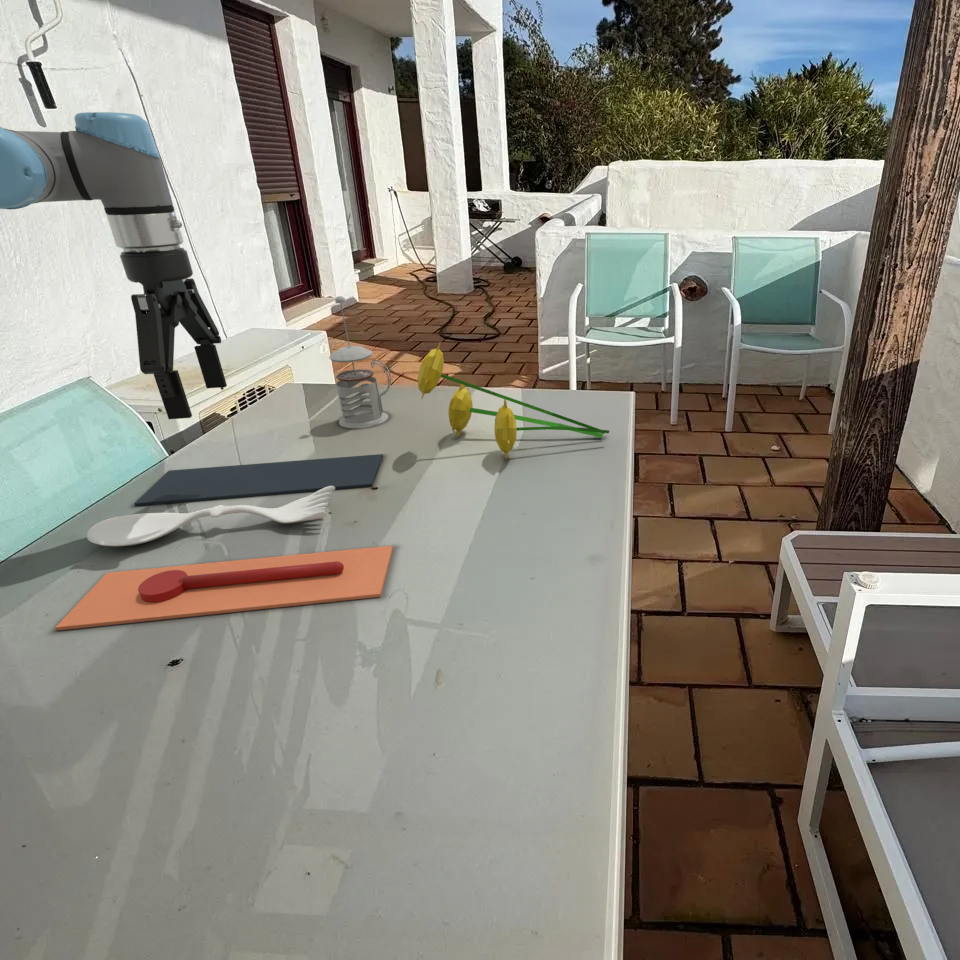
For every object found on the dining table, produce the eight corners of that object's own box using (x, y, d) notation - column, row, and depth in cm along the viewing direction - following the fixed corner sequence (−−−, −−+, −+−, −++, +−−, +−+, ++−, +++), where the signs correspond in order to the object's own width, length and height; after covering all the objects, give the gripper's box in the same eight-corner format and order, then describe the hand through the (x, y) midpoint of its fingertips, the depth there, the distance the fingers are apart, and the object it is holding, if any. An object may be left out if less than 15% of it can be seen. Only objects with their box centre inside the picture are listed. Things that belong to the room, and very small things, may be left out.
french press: (345, 412, 135) (320, 292, 124) (400, 409, 136) (380, 290, 125) (333, 429, 126) (304, 302, 115) (392, 426, 127) (370, 299, 116)
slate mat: (135, 506, 99) (133, 503, 99) (169, 473, 110) (168, 470, 110) (372, 486, 104) (371, 483, 104) (383, 456, 114) (383, 454, 114)
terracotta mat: (56, 630, 73) (54, 627, 72) (108, 575, 82) (106, 572, 82) (380, 597, 77) (379, 593, 77) (393, 548, 87) (392, 545, 87)
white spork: (329, 531, 91) (324, 510, 90) (80, 560, 86) (70, 538, 84) (339, 502, 99) (334, 482, 98) (111, 527, 93) (103, 506, 92)
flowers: (594, 410, 132) (429, 351, 123) (627, 400, 111) (429, 328, 102) (571, 484, 131) (403, 430, 123) (599, 488, 110) (397, 423, 101)
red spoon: (132, 605, 76) (128, 594, 75) (153, 579, 80) (149, 569, 80) (340, 584, 79) (337, 573, 78) (348, 560, 83) (346, 550, 83)
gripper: (138, 259, 73) (193, 430, 82) (217, 237, 95) (253, 375, 104) (66, 262, 72) (130, 435, 81) (163, 239, 94) (204, 377, 103)
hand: (200, 401), depth 93 cm, fingers open, 13 cm apart
